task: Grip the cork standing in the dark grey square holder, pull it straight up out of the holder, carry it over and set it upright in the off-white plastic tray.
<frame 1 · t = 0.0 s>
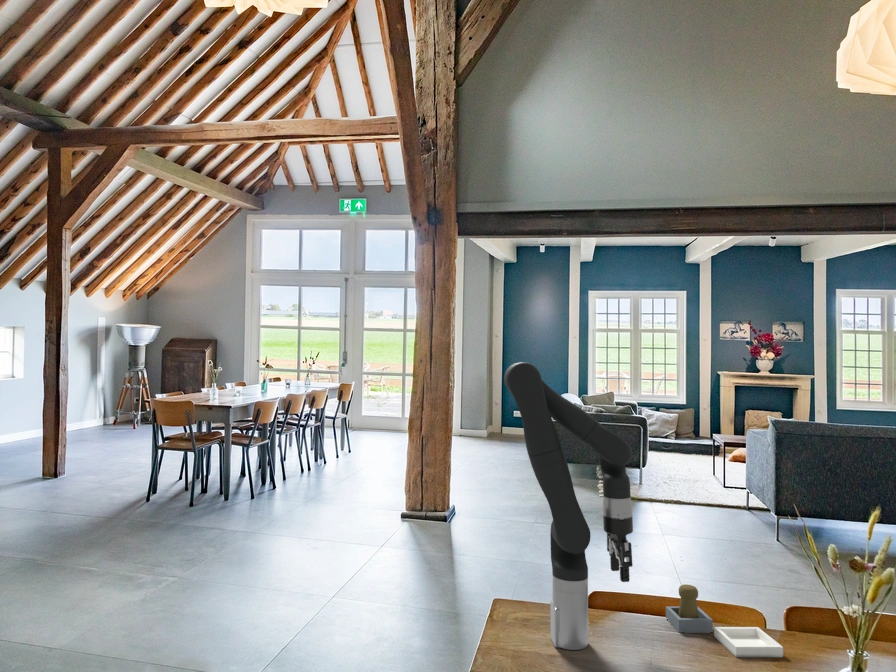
hand: (619, 575, 162), 17 cm above the table, tool pointing down, fingers open, 8 cm apart
cork: (688, 626, 173), resting in holder
tray: (747, 646, 160), on the table
holder: (688, 625, 173), on the table
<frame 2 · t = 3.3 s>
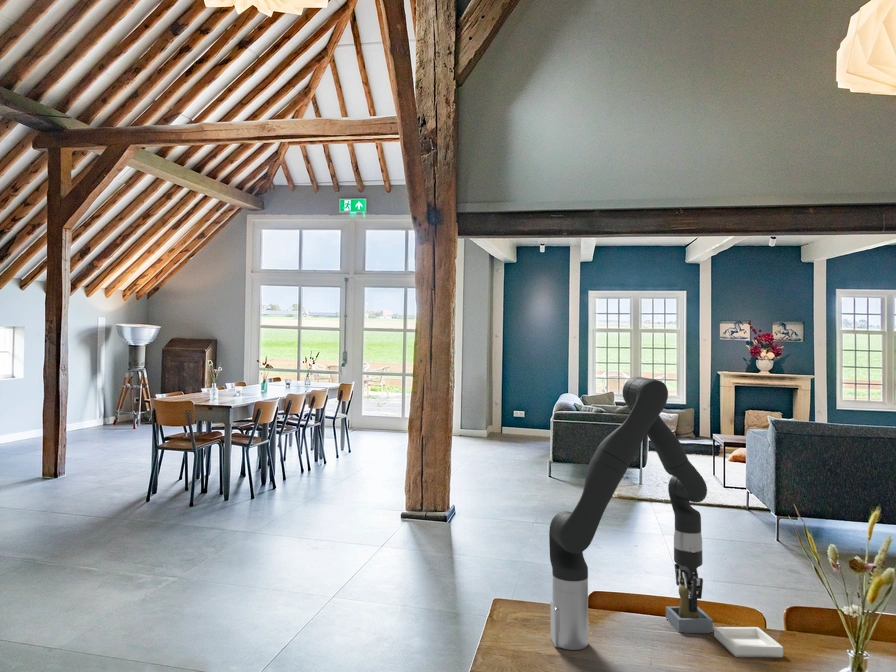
hand: (688, 607, 173), 5 cm above the table, tool pointing down, fingers closed on cork, 5 cm apart
cork: (688, 626, 173), resting in holder, touching gripper
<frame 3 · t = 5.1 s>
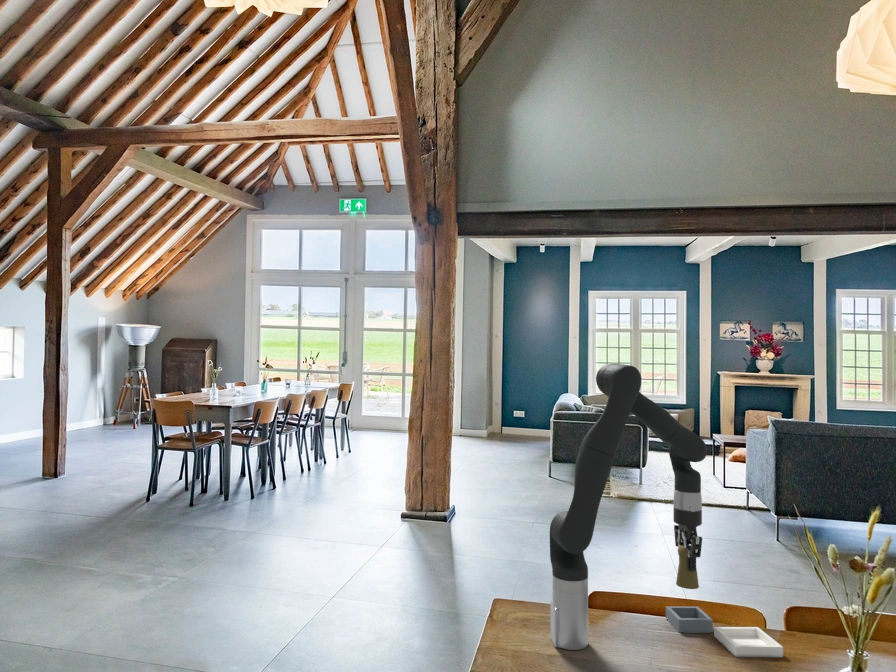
hand: (687, 567, 173), 16 cm above the table, tool pointing down, fingers closed on cork, 5 cm apart
cork: (687, 586, 173), point 11 cm above the table, touching gripper
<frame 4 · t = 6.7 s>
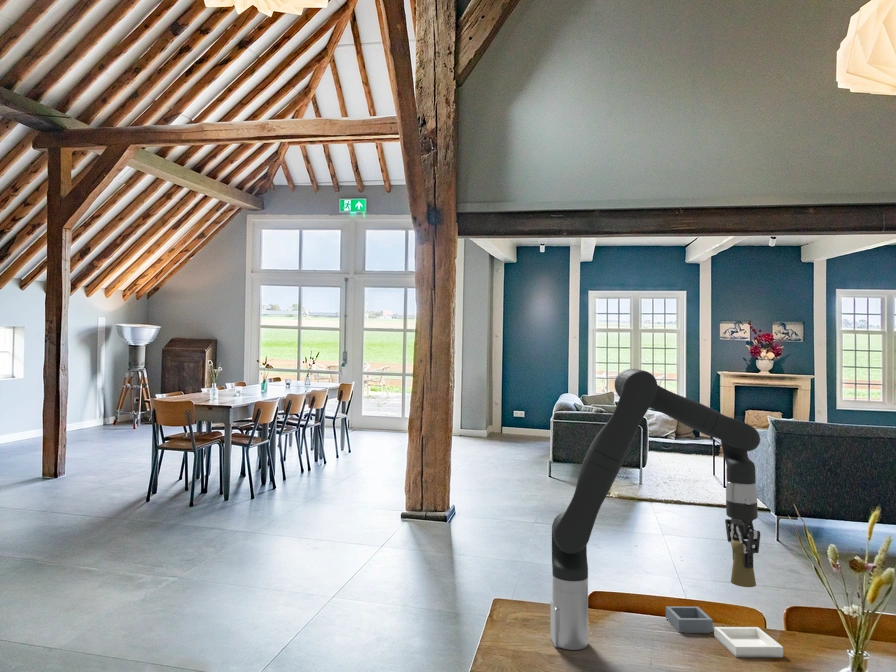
hand: (742, 564, 162), 21 cm above the table, tool pointing down, fingers closed on cork, 5 cm apart
cork: (743, 584, 162), point 16 cm above the table, touching gripper
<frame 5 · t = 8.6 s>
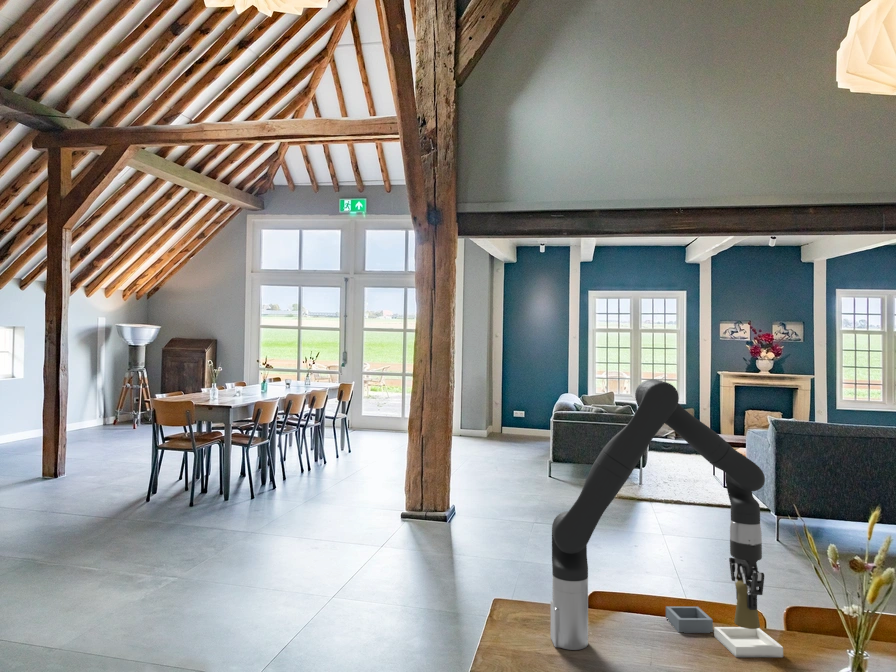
hand: (746, 604, 160), 11 cm above the table, tool pointing down, fingers closed on cork, 5 cm apart
cork: (747, 624, 160), point 6 cm above the table, touching gripper
when the fingers open (7 cm above the table, at t = 10.2 s): cork drops 2 cm, resting on tray.
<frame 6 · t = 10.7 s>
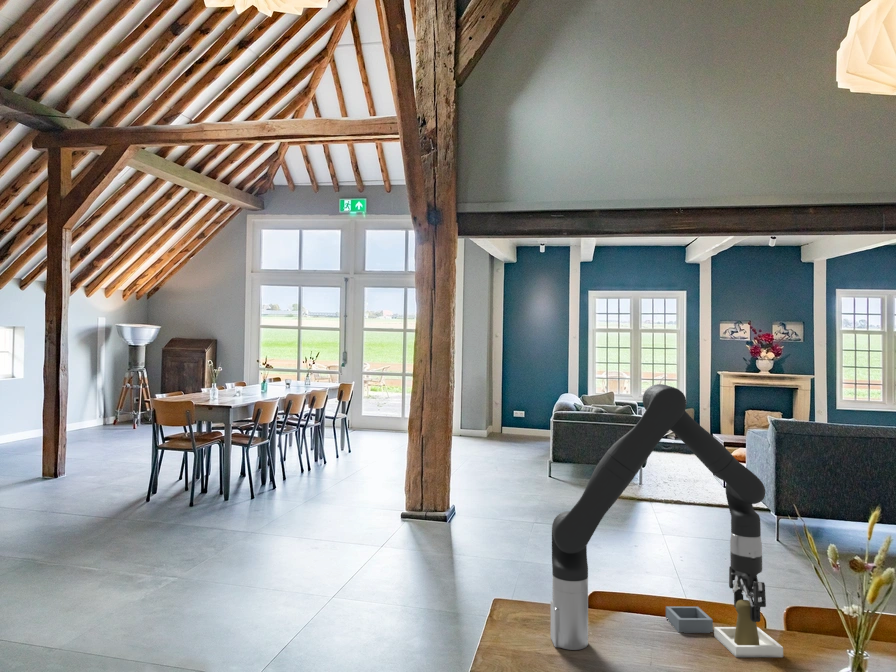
hand: (746, 614, 160), 8 cm above the table, tool pointing down, fingers open, 8 cm apart
cork: (746, 645, 160), resting on tray
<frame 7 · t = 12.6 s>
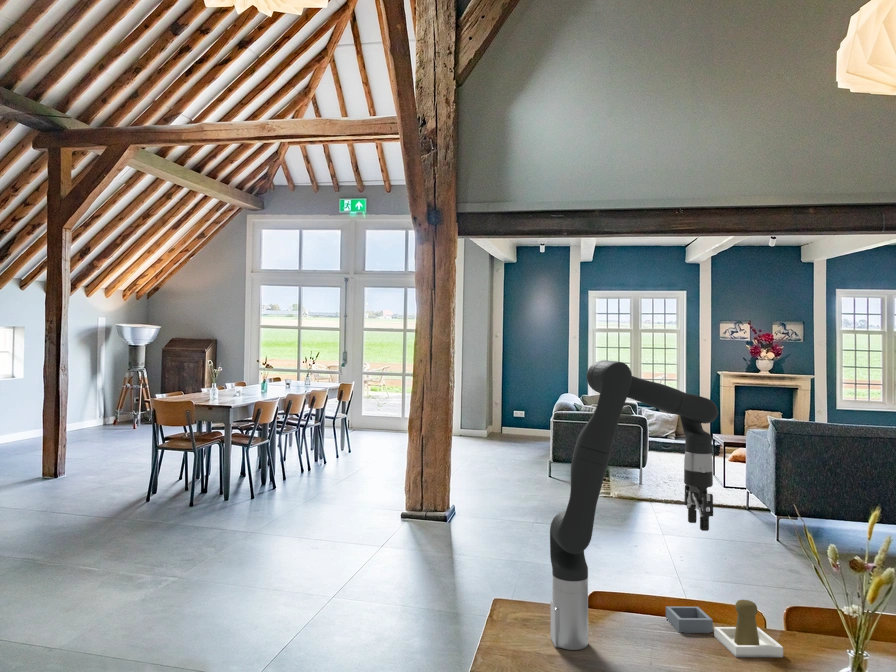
hand: (698, 526, 173), 28 cm above the table, tool pointing down, fingers open, 8 cm apart
nothing on the table moved.
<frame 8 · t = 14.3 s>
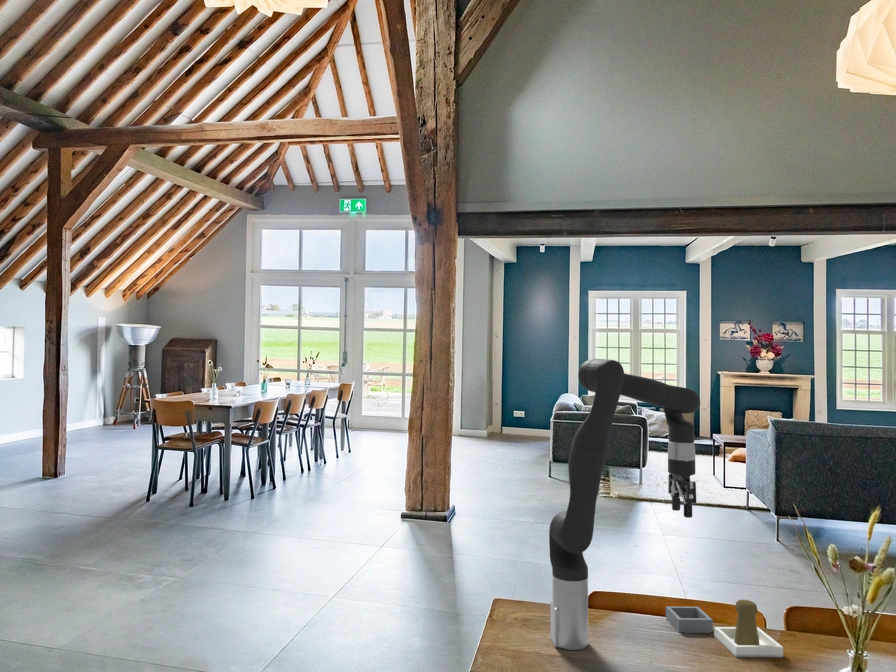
hand: (681, 513, 178), 30 cm above the table, tool pointing down, fingers open, 8 cm apart
nothing on the table moved.
at the end: cork 0.1 cm off-centre on the tray, point 0.3 cm above the tray's base; cork tilted 0°; the gripper is holding nothing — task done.
